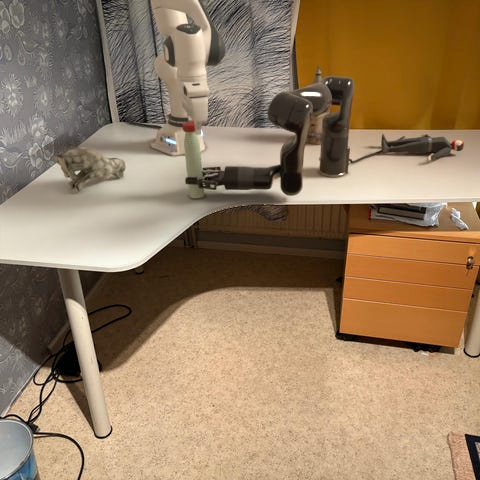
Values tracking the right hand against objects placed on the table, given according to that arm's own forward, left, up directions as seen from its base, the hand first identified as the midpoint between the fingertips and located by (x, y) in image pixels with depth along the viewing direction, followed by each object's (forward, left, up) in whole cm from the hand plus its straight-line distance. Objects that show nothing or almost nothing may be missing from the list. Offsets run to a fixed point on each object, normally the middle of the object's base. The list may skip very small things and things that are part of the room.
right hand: (187, 177), depth 172 cm
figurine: (+27, -21, -6) cm, 35 cm away
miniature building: (-64, -32, -6) cm, 72 cm away
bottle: (-3, +1, -6) cm, 7 cm away
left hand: (-3, +1, +16) cm, 16 cm away
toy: (-94, -3, -6) cm, 94 cm away
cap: (-2, +1, +17) cm, 17 cm away
